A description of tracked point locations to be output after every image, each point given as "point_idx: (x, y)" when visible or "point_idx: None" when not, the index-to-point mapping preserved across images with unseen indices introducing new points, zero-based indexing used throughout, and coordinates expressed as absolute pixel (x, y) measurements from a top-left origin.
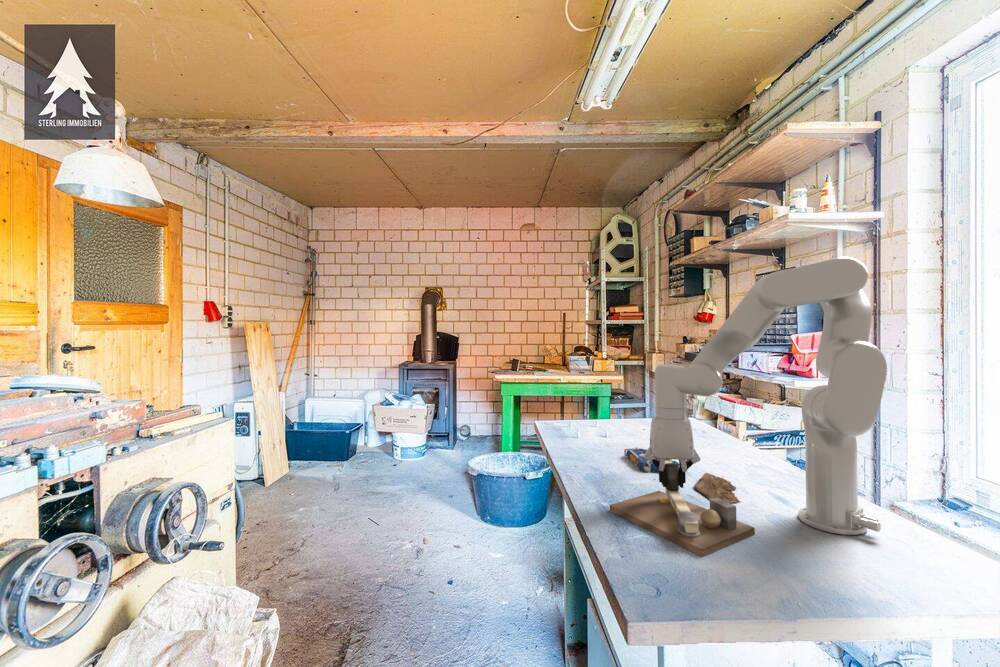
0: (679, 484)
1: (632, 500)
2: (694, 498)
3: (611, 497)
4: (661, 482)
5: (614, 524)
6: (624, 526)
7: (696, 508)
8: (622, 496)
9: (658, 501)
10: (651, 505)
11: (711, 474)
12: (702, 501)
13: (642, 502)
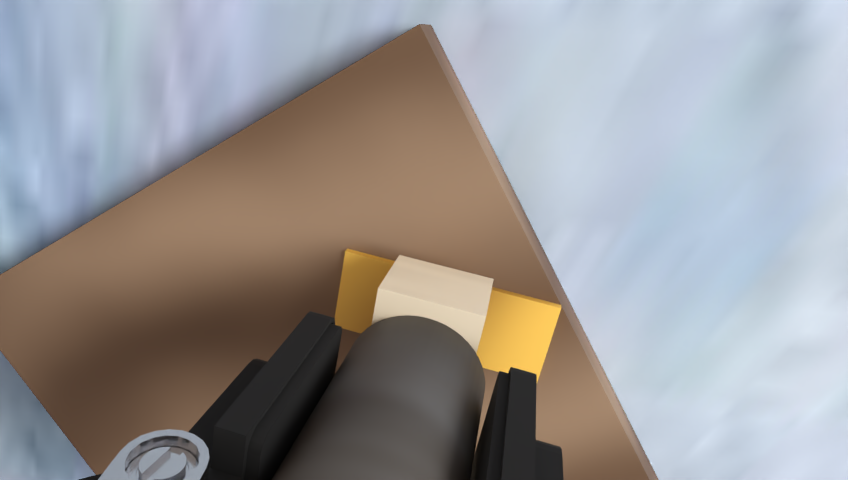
0: (476, 454)
1: (120, 245)
2: (778, 113)
3: (7, 23)
4: (310, 316)
5: (28, 447)
6: (77, 476)
7: (573, 464)
8: (96, 4)
9: (321, 295)
10: (244, 357)
11: None
12: (809, 198)
13: (190, 293)
